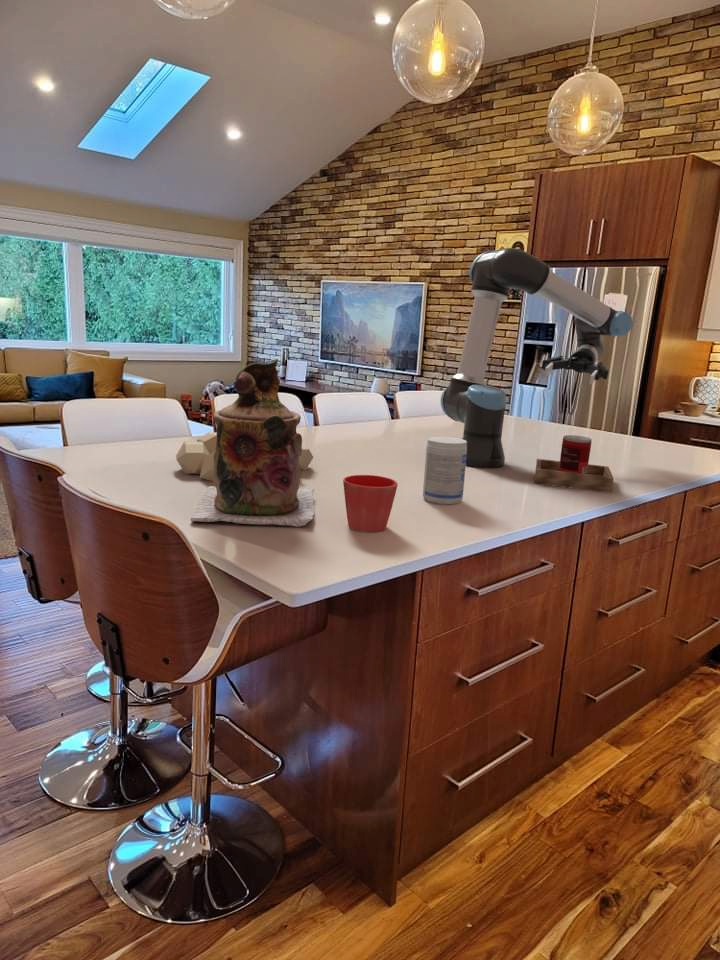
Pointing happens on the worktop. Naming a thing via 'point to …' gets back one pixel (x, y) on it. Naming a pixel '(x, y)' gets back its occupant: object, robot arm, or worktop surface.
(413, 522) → the worktop surface
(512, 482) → the worktop surface
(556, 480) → the crate
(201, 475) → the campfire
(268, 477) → the cookie jar
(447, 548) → the worktop surface
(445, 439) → the supplement tub
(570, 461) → the canned food
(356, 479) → the flower pot
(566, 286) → the robot arm
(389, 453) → the worktop surface
